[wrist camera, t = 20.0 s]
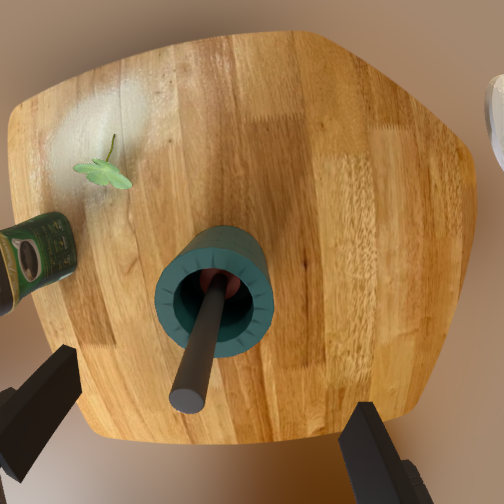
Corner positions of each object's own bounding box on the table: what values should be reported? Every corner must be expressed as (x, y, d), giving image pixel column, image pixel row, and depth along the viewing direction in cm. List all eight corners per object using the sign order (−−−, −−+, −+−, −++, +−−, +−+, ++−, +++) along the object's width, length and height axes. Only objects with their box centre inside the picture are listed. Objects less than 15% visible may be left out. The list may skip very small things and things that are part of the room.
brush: (244, 254, 36) (238, 376, 13) (238, 288, 37) (224, 436, 14) (208, 247, 36) (143, 356, 12) (203, 281, 37) (144, 419, 13)
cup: (273, 234, 36) (286, 260, 24) (256, 310, 39) (259, 366, 26) (191, 218, 36) (161, 236, 23) (180, 295, 38) (151, 344, 25)
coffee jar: (33, 217, 35) (-58, 242, 17) (70, 206, 35) (-27, 227, 17) (47, 279, 38) (-35, 327, 19) (84, 273, 37) (0, 328, 19)
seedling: (130, 159, 39) (118, 199, 37) (83, 137, 33) (67, 177, 31) (155, 136, 34) (142, 179, 32) (102, 108, 29) (82, 152, 26)
